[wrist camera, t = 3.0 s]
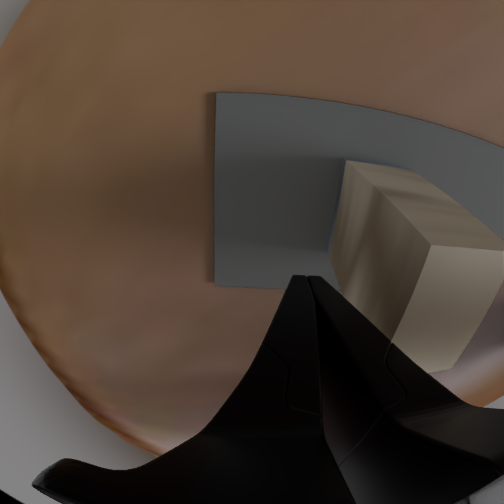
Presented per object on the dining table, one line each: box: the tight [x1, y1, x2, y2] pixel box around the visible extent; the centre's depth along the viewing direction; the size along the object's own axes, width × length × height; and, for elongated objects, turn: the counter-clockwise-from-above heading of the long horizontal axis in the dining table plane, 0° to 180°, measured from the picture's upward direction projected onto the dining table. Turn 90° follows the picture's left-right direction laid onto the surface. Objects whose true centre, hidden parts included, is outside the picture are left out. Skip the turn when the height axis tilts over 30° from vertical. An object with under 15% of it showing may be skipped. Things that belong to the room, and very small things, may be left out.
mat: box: [214, 93, 504, 291], centre depth 14 cm, size 10×20×1 cm, turn 87°
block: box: [327, 157, 504, 373], centre depth 11 cm, size 5×4×8 cm
